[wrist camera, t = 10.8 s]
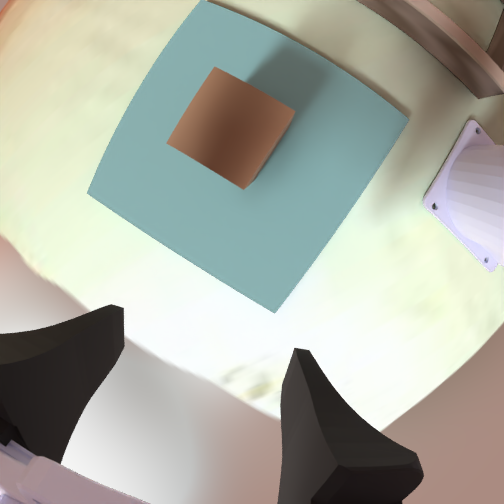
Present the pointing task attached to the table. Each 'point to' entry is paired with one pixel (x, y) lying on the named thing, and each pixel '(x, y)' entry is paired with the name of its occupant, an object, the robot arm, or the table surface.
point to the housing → (449, 43)
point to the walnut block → (231, 127)
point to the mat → (273, 172)
